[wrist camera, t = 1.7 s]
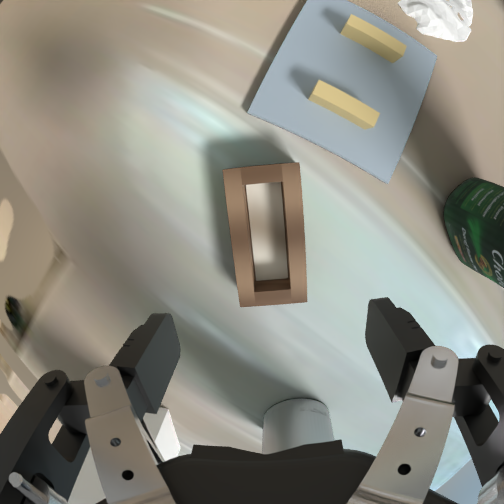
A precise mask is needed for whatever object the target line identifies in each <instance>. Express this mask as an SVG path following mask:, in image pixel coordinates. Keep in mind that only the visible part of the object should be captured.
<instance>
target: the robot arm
mask: <svg viewBox="0 0 504 504" xmlns="http://www.w3.org/2000/svg"><path fill="white" fill-rule="evenodd" d="M365 338H366V344H367V347H368V349H369V352H370V354H371V356H372V358H373V360H374V363H375V365H376V367H377V369H378V371H379V374H380V376H381V378H382V380H383V383H384V385H385V387H386V390H387V392H388V394H389V397H390V399H391V402H397V401H401V400H403V403H402V405H401V408H400V410H399V412H398V414H397V417H396V419H395V421H394V423H393V425H392V427H391V429H390V432H389V434H388V436H387V438H386V440H385V442H384V443H383V445H382V447H381V449H380V451H379V453H378V455H377V457H375V456H373V455H371V454H368V453H365V452H361V451H357V450H350V449H343V445H342V440H335V441H334V435H333V429H332V424H331V419H330V414H329V410H328V408H327V407H326V406H325V405H324V404H322V403H321V402H319V401H316V400H311V399H291V400H287V401H283V402H281V403H278V404H276V405H274V406H272V407H271V408H270V409H269V410H268V411H267V412H266V413H265V415H264V422H263V440H262V454H260V453H255V452H250V451H245V450H240V449H236V448H232V447H222V446H205V445H193V449H192V453H191V454H187V455H182V456H178V457H175V458H172V459H169V460H167V461H165V460H164V458H163V457H162V455H161V453H160V451H159V449H158V447H157V445H156V443H155V441H154V439H153V437H152V435H151V433H150V431H149V429H148V427H147V425H146V423H145V421H144V419H143V417H144V415H145V413H151V414H157V412H158V409H159V407H160V404H161V402H162V399H163V397H164V394H165V392H166V389H167V387H168V384H169V382H170V380H171V377H172V375H173V372H174V370H175V367H176V365H177V363H178V360H179V357H180V344H179V340H178V337H177V333H176V329H175V326H174V322H173V318H172V316H171V314H169V313H155V314H151V316H150V317H149V318H148V320H147V321H146V323H145V324H144V325H141V326H139V327H138V328H137V329H135V330H134V331H133V332H132V333H131V334H130V336H129V337H128V339H127V340H126V342H125V343H124V344H123V347H121V349H120V350H119V352H118V353H117V354H116V356H115V357H114V359H113V360H112V362H111V363H110V365H109V366H101V367H98V368H95V369H93V370H92V371H91V372H89V373H88V374H87V376H86V377H85V380H80V381H69V379H68V377H67V375H66V374H65V373H64V372H63V371H60V370H54V371H50V372H48V373H46V374H44V375H43V376H42V377H41V378H40V379H39V380H38V382H37V383H36V384H35V386H34V387H33V388H32V390H31V391H30V392H29V394H28V395H27V396H26V398H25V399H24V401H23V402H22V403H21V405H20V406H19V407H18V409H17V410H16V412H15V413H14V415H13V416H12V418H11V419H10V420H9V422H8V423H7V425H6V426H5V428H4V429H3V431H2V432H1V434H0V504H68V500H69V497H70V495H71V492H72V490H73V487H74V485H75V482H76V480H77V477H78V475H79V472H80V470H81V468H82V465H83V463H84V460H85V458H86V456H87V453H88V451H89V449H90V447H91V451H92V455H93V459H94V463H95V466H96V470H97V473H98V476H99V479H100V483H101V486H102V489H103V492H104V494H105V497H106V498H105V499H103V500H101V501H100V502H98V503H96V504H457V503H456V502H454V501H452V500H450V499H448V498H446V497H444V496H442V495H440V494H438V493H436V492H435V491H433V490H431V489H429V488H430V485H431V483H432V480H433V478H434V475H435V472H436V470H437V467H438V464H439V461H440V458H441V455H442V452H443V449H444V446H445V442H446V439H447V435H448V432H449V428H450V424H451V420H452V417H454V418H455V420H456V422H457V425H458V427H459V429H460V431H461V433H462V436H463V438H464V440H465V443H466V445H467V448H468V450H469V452H470V455H471V457H472V460H473V463H474V465H475V468H476V471H477V473H478V476H479V479H480V482H481V485H482V489H481V490H480V493H479V496H478V503H477V504H504V349H503V348H501V347H499V346H496V345H485V346H483V347H481V348H480V349H479V351H478V353H477V356H476V358H467V359H458V357H457V355H456V354H455V353H454V352H453V351H452V350H450V349H448V348H446V347H442V346H435V345H434V343H433V342H432V341H431V339H430V338H429V337H428V335H427V334H426V333H425V332H424V330H423V329H422V328H420V325H419V324H418V323H417V322H416V320H415V319H414V318H413V316H412V315H411V314H410V313H409V312H407V311H406V310H404V309H402V308H401V307H400V308H396V307H395V305H394V304H393V303H392V301H391V300H390V299H389V298H388V297H386V298H378V299H371V300H370V301H369V304H368V314H367V323H366V332H365ZM491 399H492V401H493V403H494V404H495V406H496V408H497V410H498V412H499V416H500V419H499V422H498V420H497V418H496V416H495V415H494V413H493V411H492V409H491V408H490V406H489V402H490V400H491ZM56 418H58V419H59V420H60V422H61V423H62V424H63V425H62V427H61V429H60V430H59V432H58V434H57V436H56V438H55V440H54V441H53V443H52V444H51V443H50V441H49V438H48V434H49V430H50V428H51V427H52V425H53V423H54V422H55V420H56Z"/></svg>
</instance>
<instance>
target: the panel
mask: <svg viewBox="0 0 504 504" xmlns="http://www.w3.org/2000/svg"><path fill="white" fill-rule="evenodd" d="M436 59H437V55H435V54H434V53H433V52H431V51H430V50H429V49H427V48H426V47H425V46H423V45H422V44H420V43H419V42H418V41H416V40H415V39H413V38H412V37H410V36H409V35H407V34H406V33H404V32H403V31H401V30H400V29H398V28H396V27H395V26H393V25H392V24H390V23H388V22H387V21H385V20H383V19H381V18H380V17H378V16H376V15H374V14H372V13H371V12H369V11H367V10H365V9H363V8H361V7H359V6H357V5H355V4H353V3H351V2H349V1H347V0H307V1H306V3H305V5H304V7H303V8H302V10H301V12H300V13H299V15H298V17H297V18H296V20H295V22H294V24H293V25H292V27H291V29H290V31H289V33H288V34H287V36H286V38H285V40H284V42H283V43H282V45H281V47H280V49H279V51H278V53H277V55H276V56H275V58H274V60H273V62H272V64H271V66H270V68H269V70H268V72H267V74H266V76H265V78H264V80H263V81H262V83H261V85H260V87H259V89H258V91H257V93H256V95H255V98H254V100H253V102H252V104H251V106H250V108H249V110H248V112H247V113H248V114H250V115H252V116H255V117H257V118H259V119H262V120H264V121H266V122H269V123H271V124H273V125H276V126H278V127H280V128H282V129H285V130H287V131H289V132H291V133H293V134H295V135H298V136H300V137H302V138H304V139H306V140H308V141H310V142H312V143H314V144H316V145H318V146H320V147H322V148H324V149H326V150H328V151H330V152H331V153H333V154H335V155H337V156H339V157H341V158H343V159H345V160H346V161H348V162H350V163H352V164H353V165H355V166H357V167H359V168H360V169H362V170H364V171H366V172H367V173H369V174H371V175H372V176H374V177H376V178H377V179H379V180H381V181H382V182H384V183H387V184H388V183H389V181H390V179H391V176H392V174H393V172H394V170H395V168H396V165H397V163H398V161H399V158H400V156H401V154H402V152H403V149H404V147H405V144H406V142H407V140H408V137H409V135H410V132H411V130H412V127H413V125H414V122H415V120H416V117H417V114H418V112H419V109H420V106H421V104H422V101H423V98H424V95H425V92H426V90H427V87H428V84H429V81H430V78H431V75H432V72H433V68H434V65H435V62H436Z"/></svg>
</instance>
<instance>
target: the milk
mask: <svg viewBox="0 0 504 504" xmlns="http://www.w3.org/2000/svg"><path fill="white" fill-rule="evenodd" d="M143 419H144V421H145V423H146V425H147V427H148V429H149V431H150V433H151V435H152V437H153V439H154V441H155V443H156V445H157V447H158V449H159V451H160V453H161V455H162V457H163V458H164V460H165V461H167V460H169V459H172V458H175V457H177V456H178V453H179V450H180V448H181V447H180V444H179V441H178V438H177V435H176V432H175V429H174V426H173V423H172V419H171V416H170V413H169V409H167V408H161V407H159V409H158V412H157V414H151V413H145V415H144V417H143ZM105 498H106V497H105V494H104V492H103V489H102V486H101V483H100V479H99V476H98V473H97V470H96V466H95V463H94V459H93V455H92V451H91V447H90V449H89V451H88V453H87V456H86V458H85V460H84V463H83V465H82V468H81V470H80V472H79V475H78V477H77V480H76V482H75V485H74V487H73V490H72V492H71V495H70V497H69V500H68V504H96V503H98V502H100V501H101V500H103V499H105Z"/></svg>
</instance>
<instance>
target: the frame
mask: <svg viewBox="0 0 504 504" xmlns="http://www.w3.org/2000/svg"><path fill="white" fill-rule="evenodd" d="M223 178H224V187H225V195H226V203H227V211H228V219H229V227H230V235H231V243H232V251H233V258H234V266H235V273H236V281H237V288H238V295H239V302H240V307H251V306H265V305H279V304H291V303H302V302H307V277H306V252H305V233H304V216H303V201H302V188H301V176H300V164H299V163H297V162H295V163H281V164H269V165H258V166H248V167H239V168H230V169H224V170H223Z"/></svg>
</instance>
